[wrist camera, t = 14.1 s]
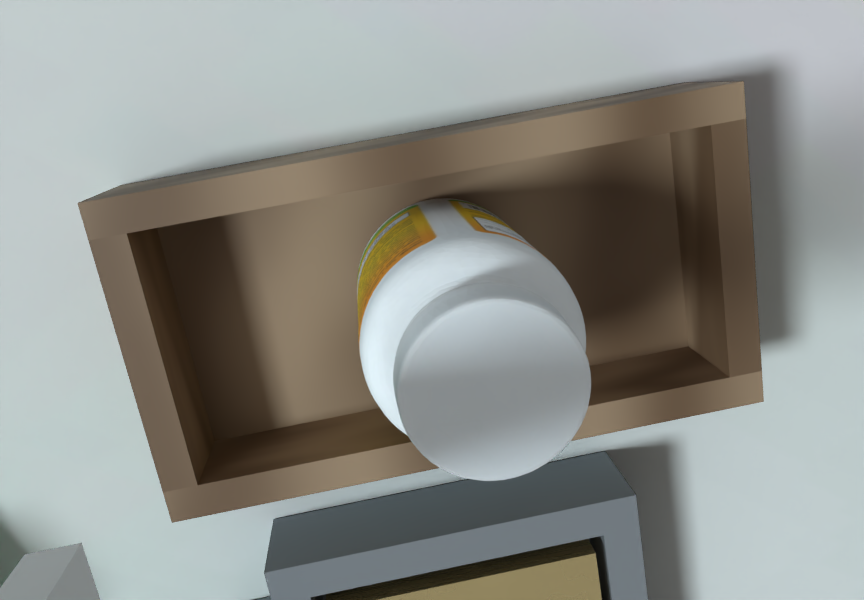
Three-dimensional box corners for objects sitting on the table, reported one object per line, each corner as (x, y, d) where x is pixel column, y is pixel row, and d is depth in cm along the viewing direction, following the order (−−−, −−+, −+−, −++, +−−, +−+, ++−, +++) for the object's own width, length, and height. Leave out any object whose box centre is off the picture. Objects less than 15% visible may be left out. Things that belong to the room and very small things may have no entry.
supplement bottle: (369, 373, 26) (381, 535, 16) (343, 209, 24) (340, 284, 15) (532, 347, 26) (634, 492, 17) (516, 184, 25) (618, 243, 15)
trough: (683, 82, 25) (743, 81, 21) (706, 358, 28) (763, 401, 24) (120, 185, 24) (77, 203, 21) (197, 460, 27) (171, 522, 23)
